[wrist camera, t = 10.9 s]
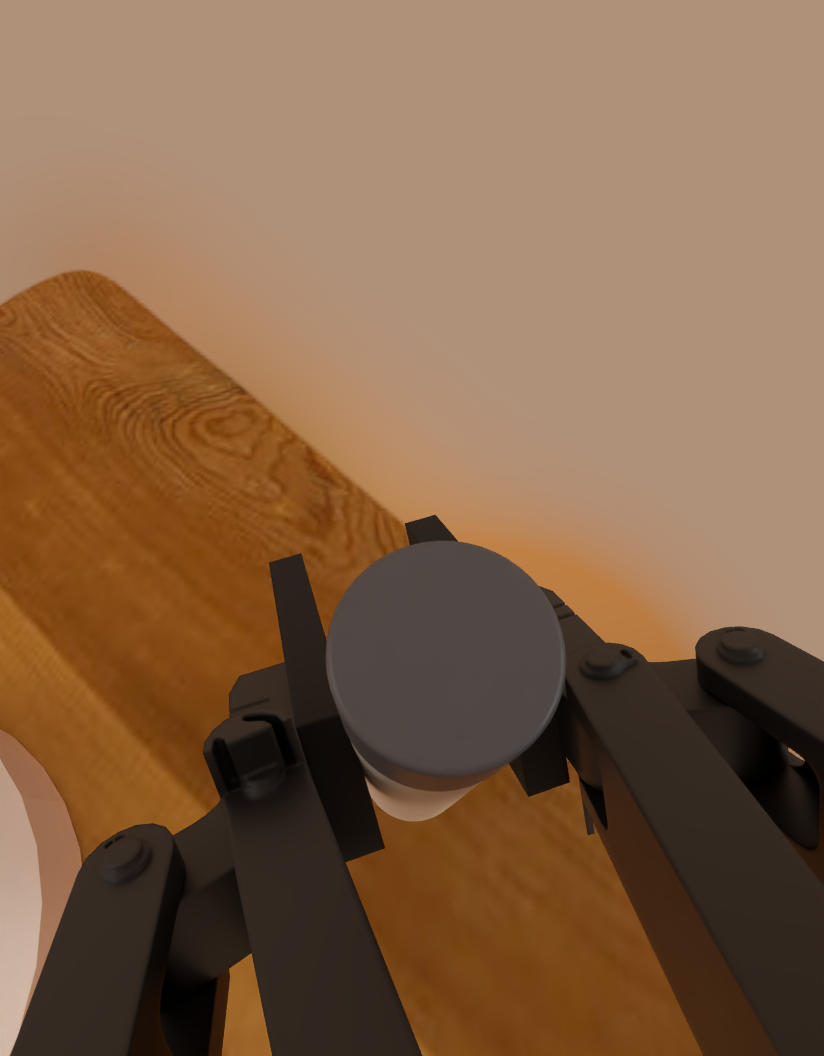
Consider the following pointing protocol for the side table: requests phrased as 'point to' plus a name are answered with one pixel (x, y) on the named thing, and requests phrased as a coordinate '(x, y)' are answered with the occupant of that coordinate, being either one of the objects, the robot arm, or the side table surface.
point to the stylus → (442, 672)
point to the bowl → (29, 878)
